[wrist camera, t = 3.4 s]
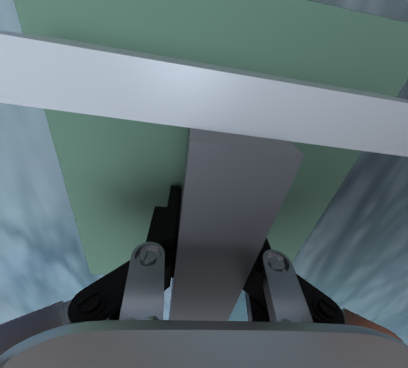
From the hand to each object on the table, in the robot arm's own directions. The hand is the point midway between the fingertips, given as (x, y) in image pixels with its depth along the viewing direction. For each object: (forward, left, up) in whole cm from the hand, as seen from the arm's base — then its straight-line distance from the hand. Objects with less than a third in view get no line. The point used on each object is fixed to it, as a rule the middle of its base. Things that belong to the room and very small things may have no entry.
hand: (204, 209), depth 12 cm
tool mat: (0, -1, -1) cm, 1 cm away
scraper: (0, 0, 0) cm, 0 cm away
